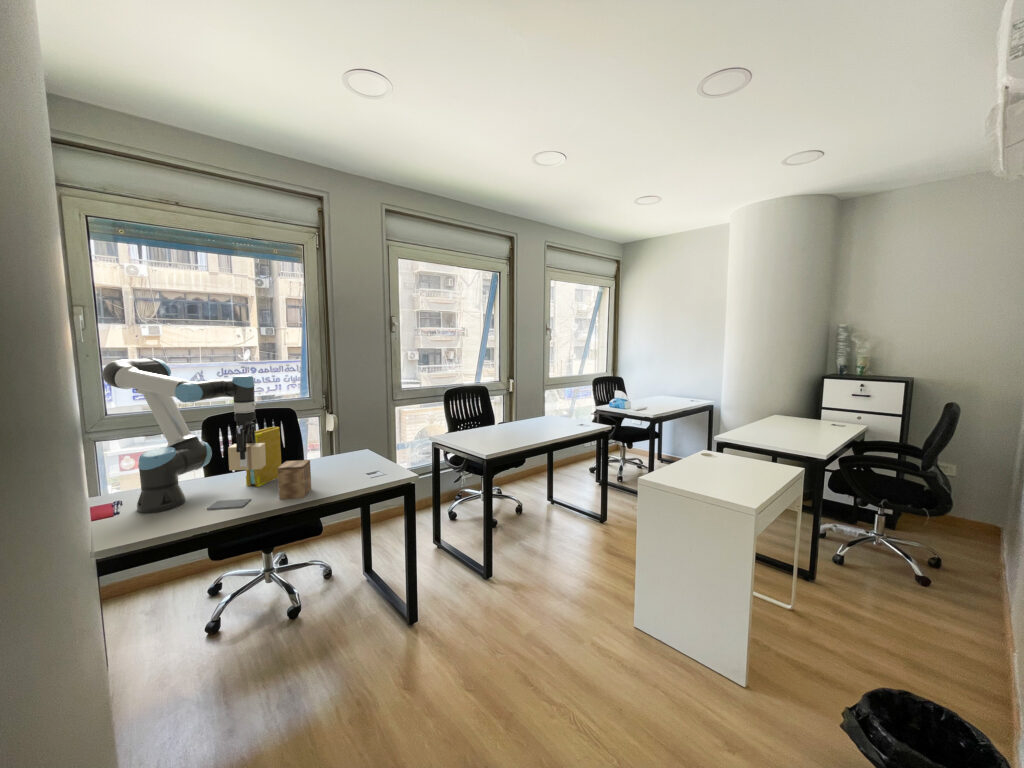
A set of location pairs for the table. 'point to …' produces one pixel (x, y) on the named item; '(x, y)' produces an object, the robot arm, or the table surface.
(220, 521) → the table surface
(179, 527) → the table surface
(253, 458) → the blank
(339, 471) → the table surface
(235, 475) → the table surface
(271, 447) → the book
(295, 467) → the wooden box
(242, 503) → the pad
